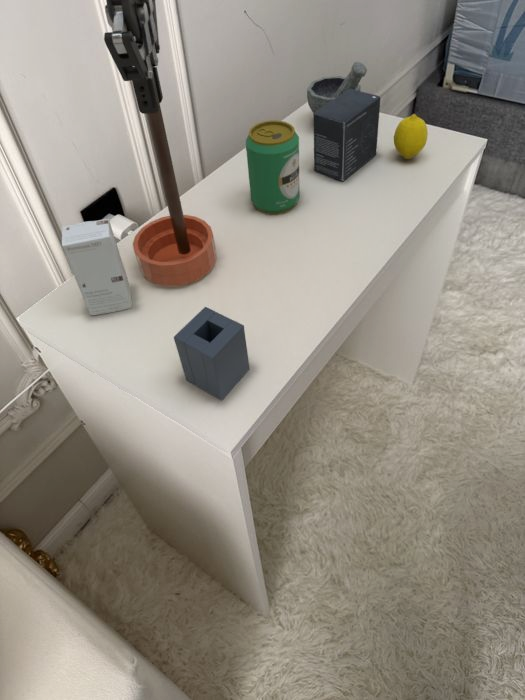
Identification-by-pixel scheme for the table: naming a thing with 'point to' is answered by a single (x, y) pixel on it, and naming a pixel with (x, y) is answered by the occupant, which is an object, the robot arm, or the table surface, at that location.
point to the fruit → (410, 136)
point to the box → (346, 133)
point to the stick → (168, 178)
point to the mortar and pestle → (334, 87)
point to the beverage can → (273, 166)
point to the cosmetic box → (97, 266)
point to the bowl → (174, 252)
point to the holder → (213, 352)
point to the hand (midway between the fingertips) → (151, 106)
